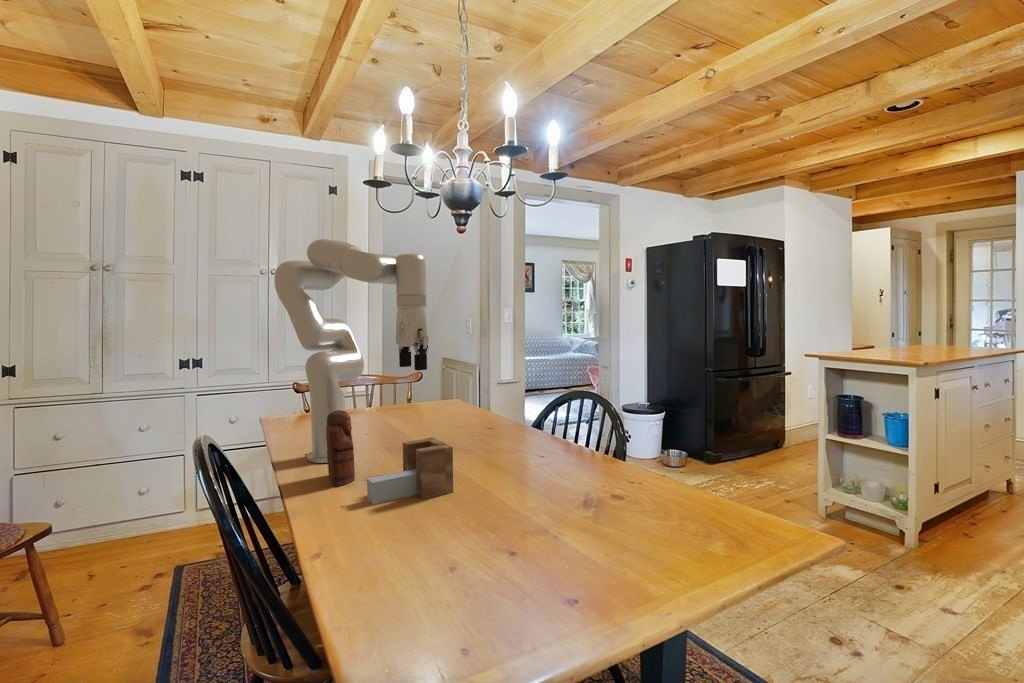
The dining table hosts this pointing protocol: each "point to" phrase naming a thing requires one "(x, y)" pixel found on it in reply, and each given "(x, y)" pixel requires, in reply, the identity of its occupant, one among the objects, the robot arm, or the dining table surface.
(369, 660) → the dining table surface
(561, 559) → the dining table surface
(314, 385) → the robot arm
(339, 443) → the wooden figurine
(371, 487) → the rail
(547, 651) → the dining table surface
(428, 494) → the brown wooden u-shaped block
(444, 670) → the dining table surface
